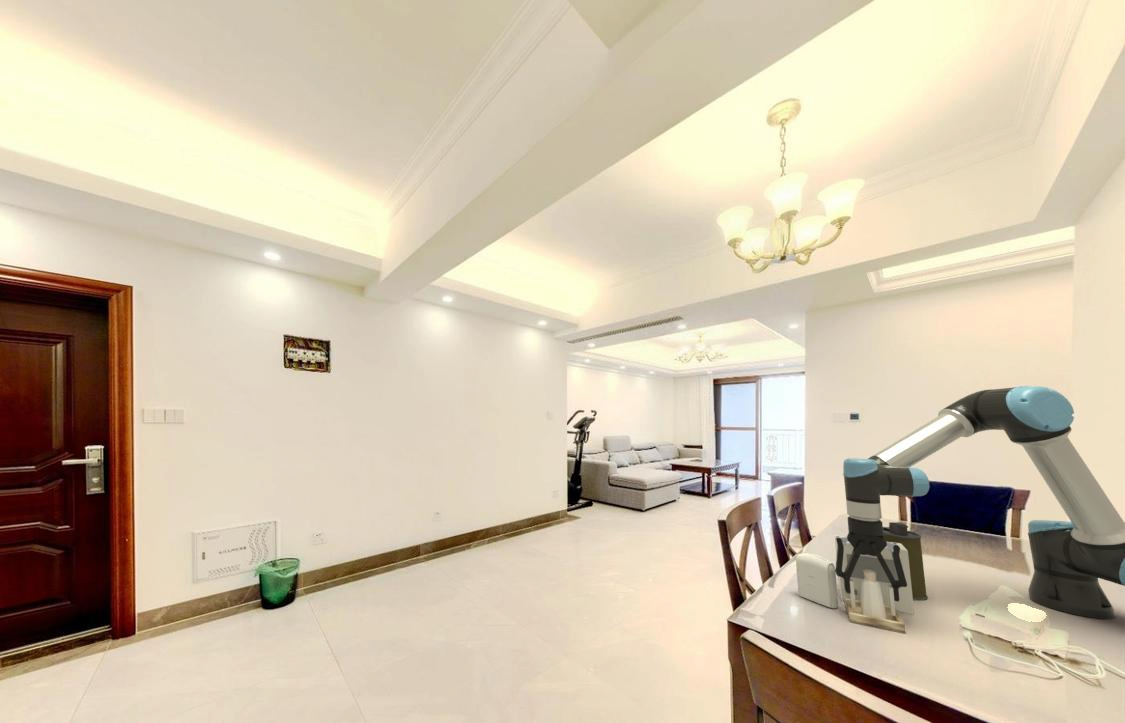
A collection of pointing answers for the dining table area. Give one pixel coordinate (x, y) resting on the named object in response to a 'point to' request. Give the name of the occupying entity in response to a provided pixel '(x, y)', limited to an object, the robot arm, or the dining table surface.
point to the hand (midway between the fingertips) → (872, 609)
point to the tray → (888, 624)
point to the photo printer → (817, 579)
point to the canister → (909, 555)
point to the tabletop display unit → (878, 576)
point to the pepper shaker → (871, 596)
